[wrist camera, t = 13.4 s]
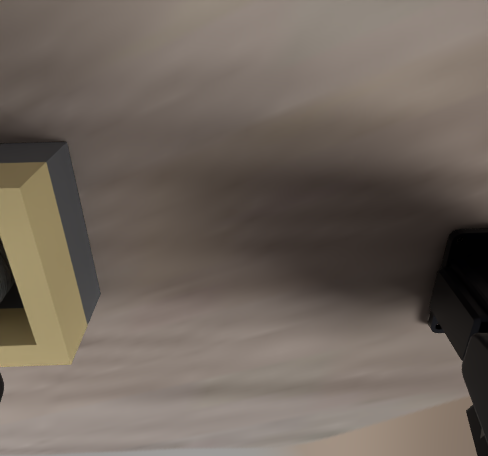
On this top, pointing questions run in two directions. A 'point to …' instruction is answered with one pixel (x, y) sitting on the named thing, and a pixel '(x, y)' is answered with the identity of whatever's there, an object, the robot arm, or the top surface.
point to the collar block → (43, 257)
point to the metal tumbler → (5, 273)
